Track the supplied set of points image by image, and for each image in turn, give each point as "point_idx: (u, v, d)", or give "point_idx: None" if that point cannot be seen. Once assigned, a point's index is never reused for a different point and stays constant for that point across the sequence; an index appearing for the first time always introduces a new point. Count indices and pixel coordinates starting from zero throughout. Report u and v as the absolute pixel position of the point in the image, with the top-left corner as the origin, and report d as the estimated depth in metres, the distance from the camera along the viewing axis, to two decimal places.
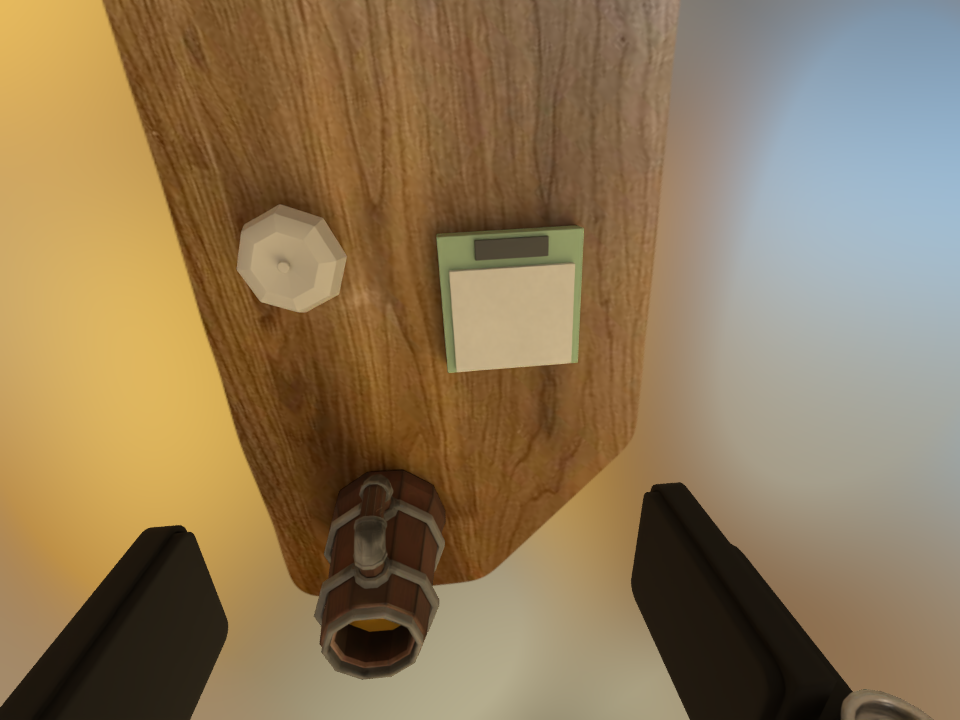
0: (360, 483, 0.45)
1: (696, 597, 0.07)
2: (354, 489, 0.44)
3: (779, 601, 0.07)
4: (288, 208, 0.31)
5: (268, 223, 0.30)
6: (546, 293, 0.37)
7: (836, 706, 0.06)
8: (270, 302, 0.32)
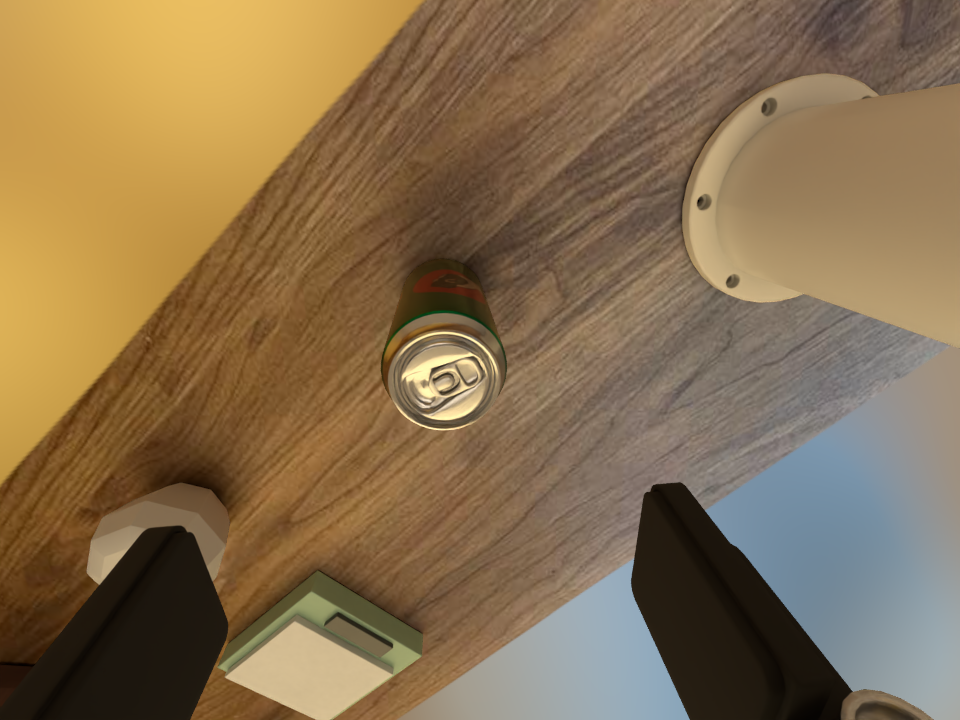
0: None
1: (696, 597, 0.07)
2: (15, 686, 0.36)
3: (779, 601, 0.07)
4: (201, 523, 0.28)
5: None
6: (353, 677, 0.38)
7: (836, 706, 0.06)
8: None
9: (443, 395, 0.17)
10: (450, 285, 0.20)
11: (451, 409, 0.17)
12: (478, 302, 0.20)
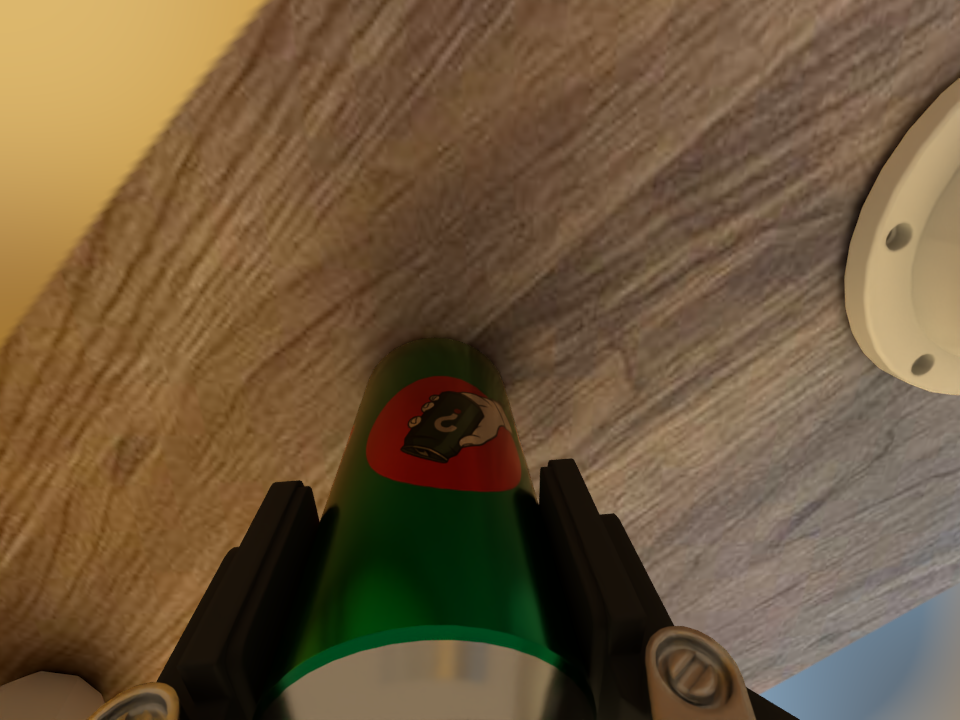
0: None
1: (564, 556, 0.08)
2: None
3: (639, 560, 0.08)
4: None
5: None
6: None
7: None
8: None
9: None
10: (445, 444, 0.09)
11: None
12: (511, 498, 0.08)
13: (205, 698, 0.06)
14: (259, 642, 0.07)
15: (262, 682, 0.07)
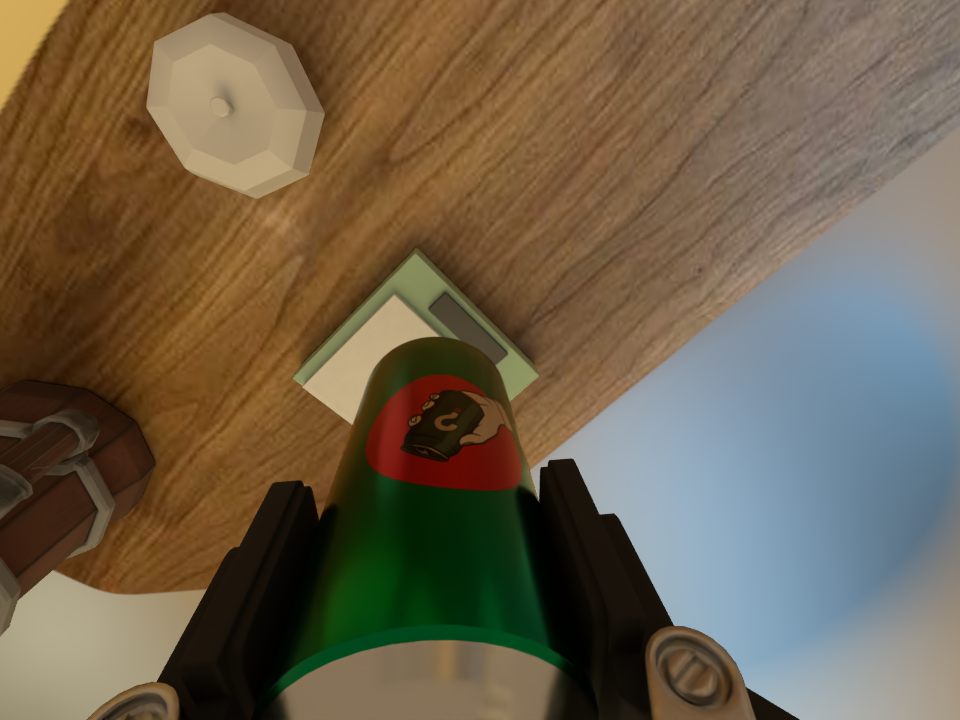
0: (61, 396, 0.29)
1: (564, 556, 0.08)
2: (44, 397, 0.29)
3: (639, 560, 0.08)
4: (296, 60, 0.21)
5: (255, 46, 0.19)
6: None
7: None
8: (158, 121, 0.20)
9: None
10: (446, 443, 0.09)
11: None
12: (511, 497, 0.08)
13: (205, 698, 0.06)
14: (259, 642, 0.07)
15: (262, 682, 0.07)
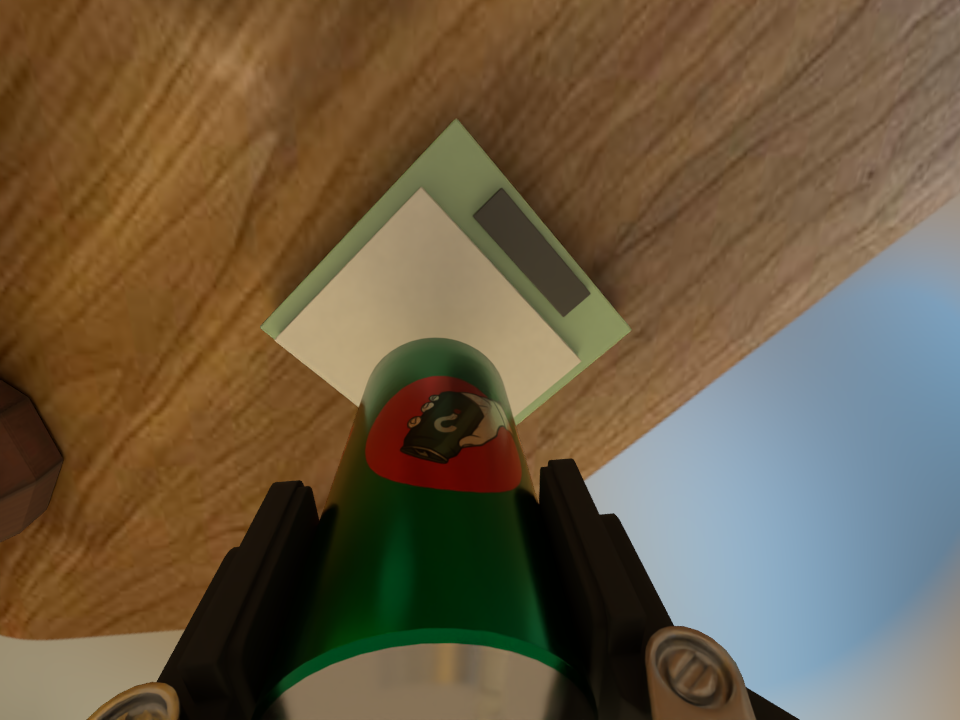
0: None
1: (564, 556, 0.08)
2: None
3: (639, 560, 0.08)
4: None
5: None
6: (511, 360, 0.20)
7: None
8: None
9: None
10: (446, 445, 0.09)
11: None
12: (511, 499, 0.08)
13: (205, 698, 0.06)
14: (259, 642, 0.07)
15: (262, 682, 0.07)
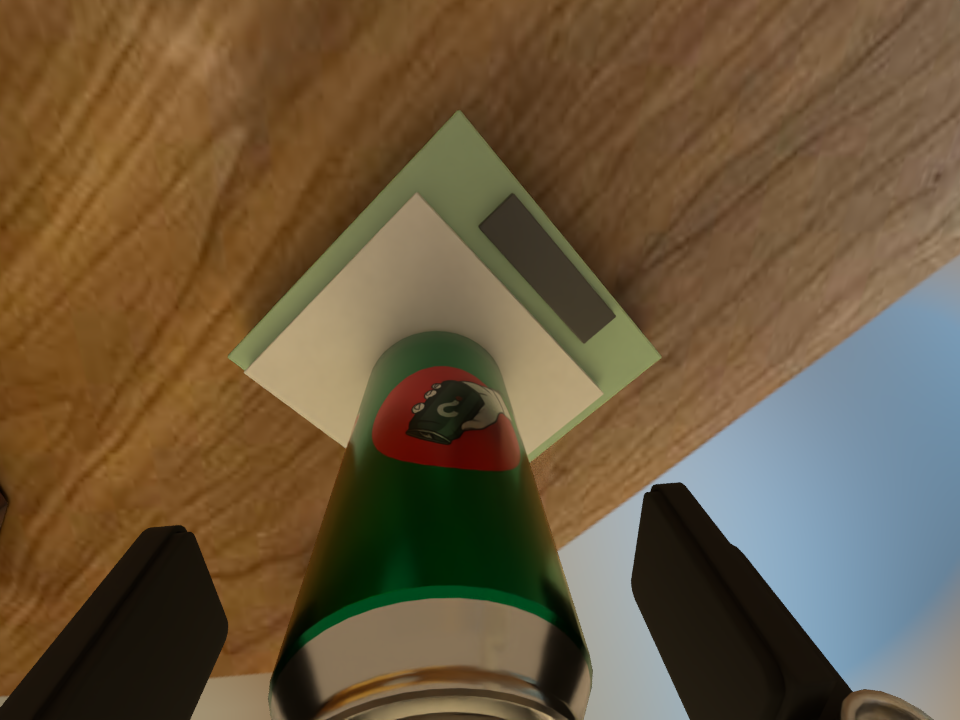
0: None
1: (696, 597, 0.07)
2: None
3: (779, 601, 0.07)
4: None
5: None
6: (522, 393, 0.17)
7: (836, 706, 0.06)
8: None
9: None
10: (448, 428, 0.10)
11: None
12: (511, 477, 0.09)
13: None
14: None
15: None
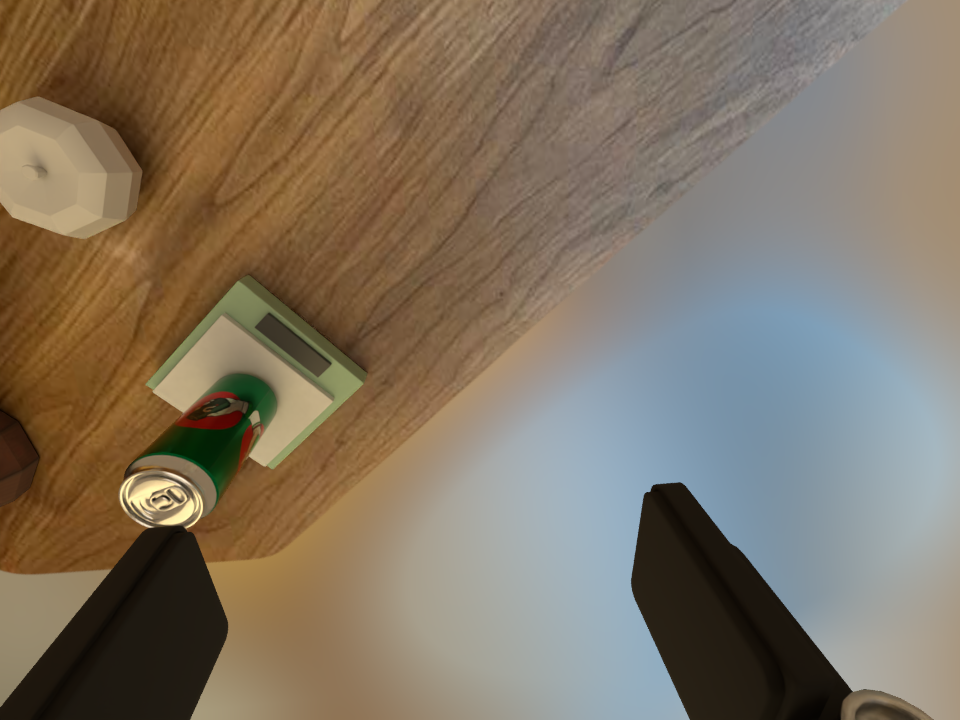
0: None
1: (696, 597, 0.07)
2: None
3: (779, 601, 0.07)
4: (101, 132, 0.26)
5: (55, 126, 0.24)
6: (291, 401, 0.36)
7: (836, 706, 0.06)
8: None
9: (164, 509, 0.25)
10: (201, 415, 0.28)
11: (171, 518, 0.25)
12: (215, 431, 0.27)
13: None
14: None
15: None
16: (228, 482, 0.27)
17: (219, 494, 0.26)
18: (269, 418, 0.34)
